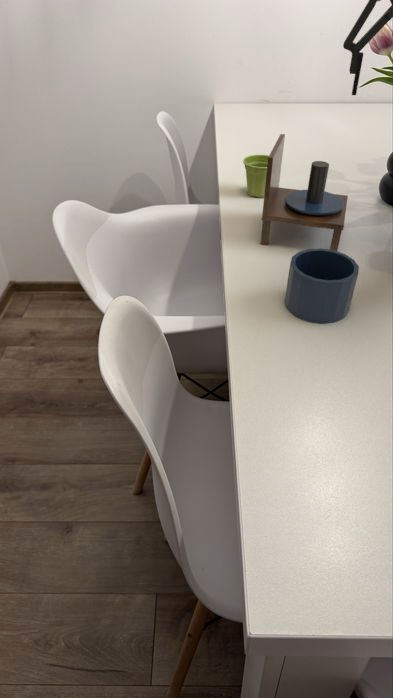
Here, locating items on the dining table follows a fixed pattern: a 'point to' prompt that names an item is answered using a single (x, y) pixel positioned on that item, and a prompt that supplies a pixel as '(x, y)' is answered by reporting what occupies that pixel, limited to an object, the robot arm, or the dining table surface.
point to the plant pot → (256, 174)
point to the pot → (320, 285)
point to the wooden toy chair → (281, 212)
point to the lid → (315, 194)
